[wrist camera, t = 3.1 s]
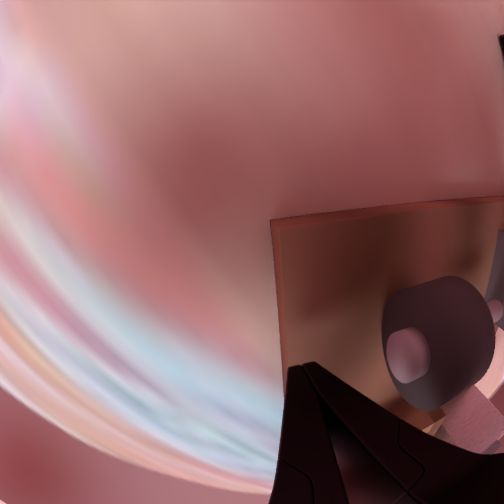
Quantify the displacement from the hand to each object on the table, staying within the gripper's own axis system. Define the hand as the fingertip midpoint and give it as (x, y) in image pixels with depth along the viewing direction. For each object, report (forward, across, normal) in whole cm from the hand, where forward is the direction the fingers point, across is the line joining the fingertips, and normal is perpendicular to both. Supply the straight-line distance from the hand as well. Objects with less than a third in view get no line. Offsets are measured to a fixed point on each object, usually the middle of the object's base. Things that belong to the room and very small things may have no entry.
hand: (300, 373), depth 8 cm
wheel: (+2, -6, 0) cm, 6 cm away
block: (+2, -13, +13) cm, 19 cm away
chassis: (+3, -8, +7) cm, 11 cm away
